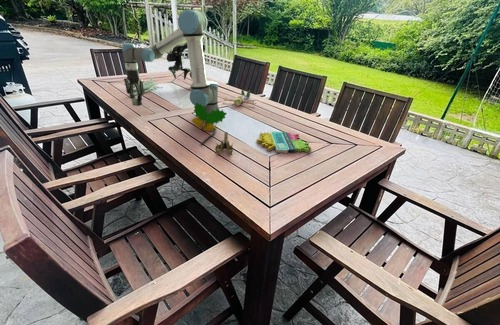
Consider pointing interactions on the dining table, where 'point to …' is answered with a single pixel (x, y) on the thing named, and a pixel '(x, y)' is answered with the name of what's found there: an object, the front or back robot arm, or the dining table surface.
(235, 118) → the dining table surface
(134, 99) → the block
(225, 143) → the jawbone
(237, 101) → the toy
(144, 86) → the airplane
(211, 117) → the ornament
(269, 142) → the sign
